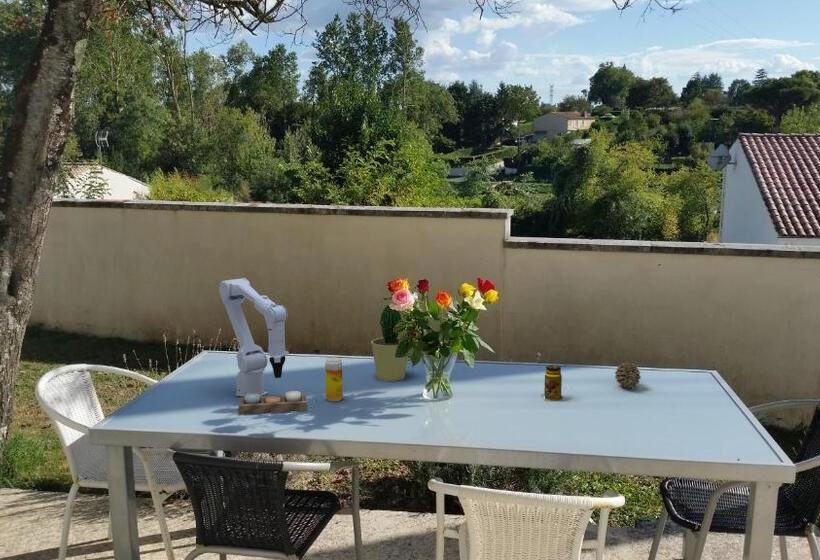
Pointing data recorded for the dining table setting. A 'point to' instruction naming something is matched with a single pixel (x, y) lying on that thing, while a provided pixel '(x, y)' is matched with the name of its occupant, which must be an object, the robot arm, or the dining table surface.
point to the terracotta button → (273, 399)
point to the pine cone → (627, 375)
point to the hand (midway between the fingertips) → (277, 377)
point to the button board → (272, 405)
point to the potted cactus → (388, 348)
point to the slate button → (252, 398)
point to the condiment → (553, 383)
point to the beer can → (334, 379)
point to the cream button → (293, 396)
